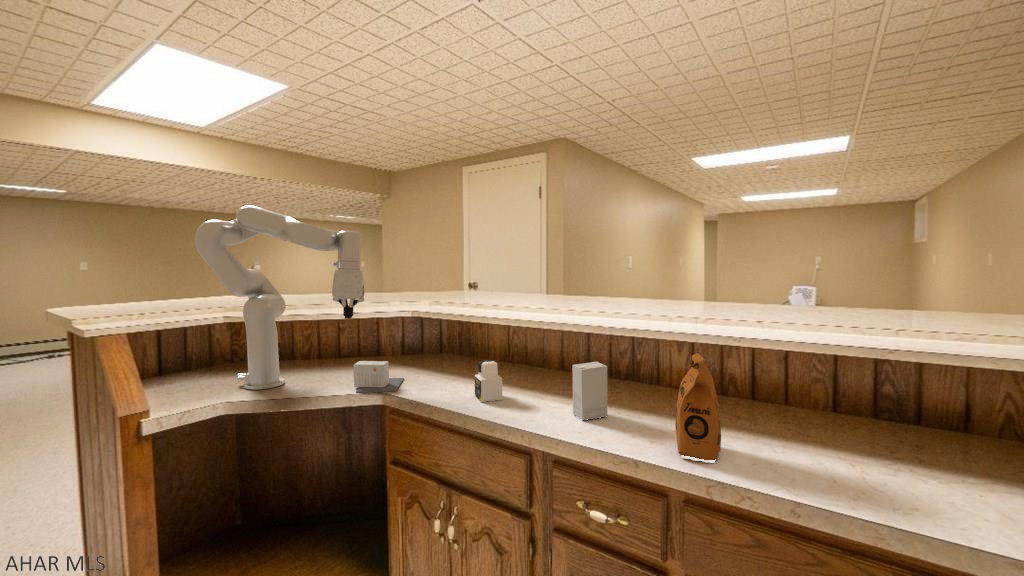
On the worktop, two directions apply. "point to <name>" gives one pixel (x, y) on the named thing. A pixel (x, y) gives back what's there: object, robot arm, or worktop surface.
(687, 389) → the coffee package
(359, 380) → the small box
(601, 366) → the skincare box
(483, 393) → the medicine bottle
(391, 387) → the mat
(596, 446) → the worktop surface
